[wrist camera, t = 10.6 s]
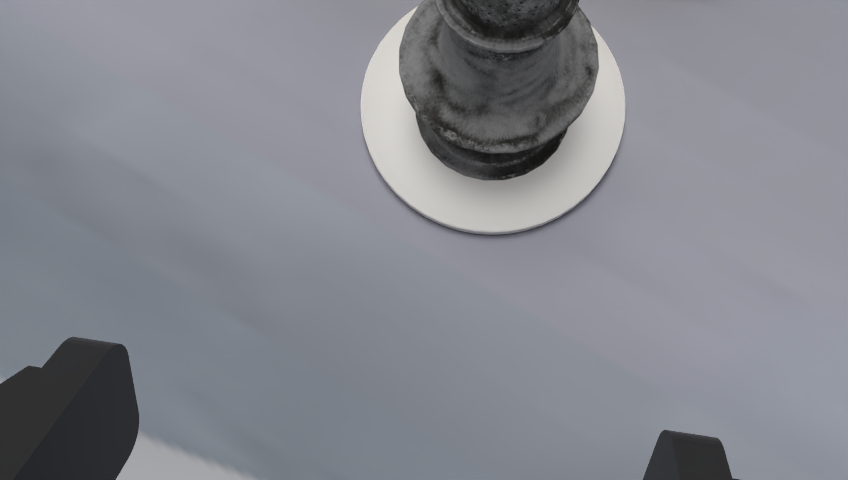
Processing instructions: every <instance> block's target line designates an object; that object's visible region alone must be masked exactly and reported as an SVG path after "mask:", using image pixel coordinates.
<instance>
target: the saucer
mask: <svg viewBox="0 0 848 480" xmlns="http://www.w3.org/2000/svg"><path fill="white" fill-rule="evenodd" d="M416 9H417V7H416V8H414V9H413V10H412V11H410V12H409V13H408V14H407V15H405V16H404V17H403V18H402V19H400V20H399V21H398V22H397V23H396V24H395V26H394V27H393V28H392V29H391V30H390V31H389V32H388V33H387V35H386V36H385V37H384V39H383V40H382V41H381V43H380V44H379V46H378V48H377V49H376V51H375V53H374V55H373V56H372V59H371V61H370V64H369V66H368V68H367V71H366V75H365V78H364V82H363V86H362V95H361V121H362V127H363V133H364V137H365V140H366V143H367V146H368V149H369V152H370V155H371V158H372V160H373V162H374V164H375V166H376V168H377V170H378V172H379V173H380V175H381V176H382V178H383V179H384V181H385V182H386V184H387V185H388V186H389V187H390V188H391V190H392V191H393V192H394V193H395V194H396V195H397V196H398V197H399V198H400V199H401V200H402V201H403V202H404V203H406V204H407V205H408V206H409V207H410V208H412V209H413V210H415V211H416V212H418V213H419V214H421V215H422V216H424V217H425V218H428V219H430V220H432V221H434V222H436V223H438V224H440V225H443V226H446V227H449V228H452V229H455V230H458V231H463V232H468V233H473V234H487V235H497V234H511V233H516V232H522V231H527V230H530V229H533V228H536V227H539V226H542V225H545V224H547V223H549V222H551V221H553V220H555V219H557V218H559V217H561V216H562V215H564V214H565V213H567V212H568V211H570V210H572V209H573V208H574V207H575V206H577V205H578V204H579V203H580V202H581V201H582V200H584V199H585V198H586V197H587V196H588V195H589V194H590V192H591V191H592V190H593V189H594V188H595V187H596V186H597V184H598V183H599V181H600V180H601V178H602V177H603V176H604V174H605V173H606V171H607V169H608V168H609V166H610V164H611V162H612V160H613V158H614V156H615V154H616V152H617V149H618V146H619V143H620V140H621V137H622V133H623V127H624V121H625V95H624V87H623V83H622V79H621V75H620V71H619V69H618V66H617V64H616V62H615V59H614V57H613V55H612V53H611V51H610V50H609V48H608V46H607V45H606V43H605V41H604V40H603V39H602V37H601V36H600V35H599V34H598V32H597V31H596V30H595V29H594V28H593V27H592V26H591V27H592V30H593V33H594V35H595V38H596V41H597V44H598V60H599V70H598V74H597V79H596V83H595V87H594V92H593V94H592V96H591V97H590V99H589V101H588V103H587V105H586V106H585V108H584V110H583V112H582V113H581V115H580V116H579V117H578V118H577V119H576V120H575V121H574V122H573V123H572V124H571V125H570V126H569V127H568V129H567V133H566V135H565V137H564V138H563V140H562V142H561V144H560V146H559V147H558V149H557V151H556V152H555V153H554V154H553V155H552V156H551V157H550V158H549V159H548V160H547V161H546V162H545V163H544V164H543V165H541V166H539V167H538V168H536V169H534V170H532V171H531V172H529V173H527V174H525V175H522V176H518V177H515V178H511V179H508V180H487V181H484V180H480V179H476V178H471V177H467V176H464V175H462V174H460V173H458V172H456V171H454V170H452V169H450V168H448V167H446V166H445V165H444V164H443V163H442V162H441V161H440V160H439V159H438V158H437V157H435V156H434V155H433V154H432V153H431V151H430V150H429V148H428V147H427V145H426V143H425V142H424V140H423V139H422V137H421V134H420V131H419V127H418V124H417V120H416V112H415V111H414V109H413V108H412V106H411V104H410V103H409V101H408V100H407V98H406V96H405V92H404V89H403V85H402V82H401V78H400V75H399V48H400V44H401V41H402V37H403V34H404V31H405V27H406V25H407V23H408V22H409V20H410V19H411V17H412V15H413V14H414V12H415V11H416Z"/></svg>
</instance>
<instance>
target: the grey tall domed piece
mask: <svg viewBox="0 0 848 480" xmlns="http://www.w3.org/2000/svg"><path fill="white" fill-rule="evenodd" d="M578 3H579V0H424V1H423V2H422V3H421V4H420V5H419V6H418V7H417V9H416V11H415V12H414V14H413V15H412V17H411V19H410V20H409V22H408V23H407V25H406V27H405V31H404V34H403V37H402V41H401V44H400V48H399V75H400V78H401V82H402V85H403V89H404V92H405V96H406V98H407V100H408V101H409V103H410V104H411V106H412V108H413V109H414V111H415V112H416V120H417V124H418V127H419V131H420V134H421V137H422V139H423V140H424V142H425V143H426V145H427V147H428V148H429V150H430V151H431V153H432V154H433V155H434V156H435V157H437V158H438V159H439V160H440V161H441V162H442V163H443V164H444V165H445V166H446V167H448V168H450V169H452V170H454V171H456V172H458V173H460V174H462V175H464V176H467V177H471V178H476V179H480V180H484V181H487V180H508V179H511V178H515V177H518V176H522V175H525V174H527V173H529V172H531V171H532V170H534V169H536V168H538V167H539V166H541V165H543V164H544V163H545V162H546V161H547V160H548V159H549V158H550V157H551V156H552V155H553V154H554V153H555V152H556V151H557V149H558V147H559V146H560V144H561V142H562V140H563V138H564V137H565V135H566V133H567V129H568V127H569V126H570V125H571V124H572V123H573V122H574V121H575V120H576V119H577V118H578V117H579V116H580V115H581V113H582V112H583V110H584V108H585V106H586V105H587V103H588V101H589V99H590V97H591V96H592V94H593V92H594V87H595V83H596V79H597V74H598V70H599V60H598V44H597V41H596V38H595V35H594V33H593V30H592V27H591V24H590V22H589V20H588V19H587V17H586V16H585V14H584V13H583V12H582V10H581V9H580V7H579V6H578Z"/></svg>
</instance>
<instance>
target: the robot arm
mask: <svg viewBox="0 0 848 480" xmlns="http://www.w3.org/2000/svg"><path fill="white" fill-rule="evenodd" d="M138 428H139V412H138V406H137V401H136V395H135V390H134V384H133V378H132V373H131V367H130V362H129V356H128V352H127V350H126V348H125V347H124V346H123V345H122V344H116V343H110V342H103V341H97V340H90V339H84V338H77V337H71V338H69V339H67V340H66V341H64V342H63V343H62V344H61V345H60V347H59V348H58V349H57V350H56V351H55V353H54V354H53V355H52V356H51V357H50V359H49V360H48V361H47V362H46V363H45V365H44V366H43V367H42V368H39V367H33V366H27V367H26V368H24V369H23V370H21V371H20V372H18V373H17V374H15V375H13V376H12V377H10V378H9V379H7V380H6V381H4V382H3V383H1V384H0V480H116V478H117V476H118V475H119V473H120V471H121V470H122V468H123V466H124V464H125V463H126V461H127V459H128V458H129V456H130V454H131V452H132V449H133V447H134V444H135V441H136V438H137V434H138ZM643 480H738V479H732V476H731V473H730V469H729V465H728V462H727V458H726V454H725V451H724V448H723V445H722V443H721V441H720V440H719V439H718V438H714V437H708V436H701V435H695V434H688V433H682V432H675V431H669V430H664V431H662V432H661V434H660V436H659V438H658V440H657V443H656V446H655V448H654V451H653V454H652V456H651V459H650V462H649V464H648V467H647V470H646V472H645V475H644V478H643Z"/></svg>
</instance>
